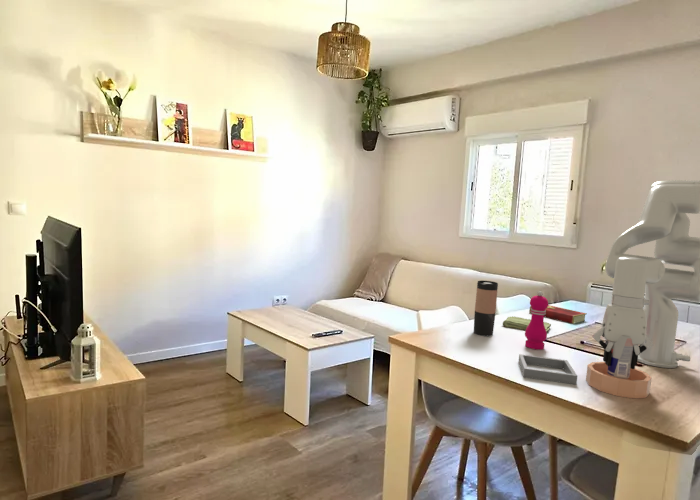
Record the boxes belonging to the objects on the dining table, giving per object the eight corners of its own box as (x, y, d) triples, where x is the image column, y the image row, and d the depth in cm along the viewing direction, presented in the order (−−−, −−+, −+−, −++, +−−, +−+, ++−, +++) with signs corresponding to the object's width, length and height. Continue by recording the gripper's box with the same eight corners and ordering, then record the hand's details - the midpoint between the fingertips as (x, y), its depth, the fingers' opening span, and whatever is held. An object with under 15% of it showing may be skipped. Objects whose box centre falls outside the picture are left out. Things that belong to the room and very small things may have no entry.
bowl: (637, 381, 135) (639, 366, 134) (657, 401, 120) (659, 385, 120) (581, 373, 138) (583, 359, 138) (594, 392, 124) (596, 376, 123)
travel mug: (489, 331, 181) (494, 281, 179) (496, 336, 174) (501, 284, 172) (470, 330, 181) (474, 280, 179) (476, 335, 173) (480, 283, 171)
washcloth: (547, 335, 182) (548, 327, 182) (501, 327, 190) (502, 319, 190) (550, 328, 193) (551, 321, 193) (507, 321, 202) (507, 314, 201)
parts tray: (566, 368, 143) (567, 360, 142) (576, 384, 129) (577, 375, 129) (518, 361, 146) (519, 354, 146) (523, 377, 132) (524, 368, 132)
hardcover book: (572, 324, 203) (573, 315, 202) (529, 314, 219) (529, 305, 219) (585, 321, 210) (586, 312, 210) (542, 311, 227) (543, 303, 226)
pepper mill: (547, 351, 159) (553, 294, 157) (525, 348, 161) (531, 292, 159) (543, 345, 166) (548, 290, 164) (522, 342, 168) (527, 288, 166)
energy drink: (609, 370, 133) (614, 330, 131) (630, 376, 129) (636, 334, 128) (605, 375, 128) (610, 333, 127) (627, 380, 125) (632, 337, 124)
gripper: (656, 303, 128) (648, 366, 130) (589, 296, 133) (582, 357, 134) (668, 308, 121) (659, 375, 123) (596, 301, 125) (589, 365, 127)
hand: (619, 365), depth 129 cm, fingers closed on energy drink, 5 cm apart
